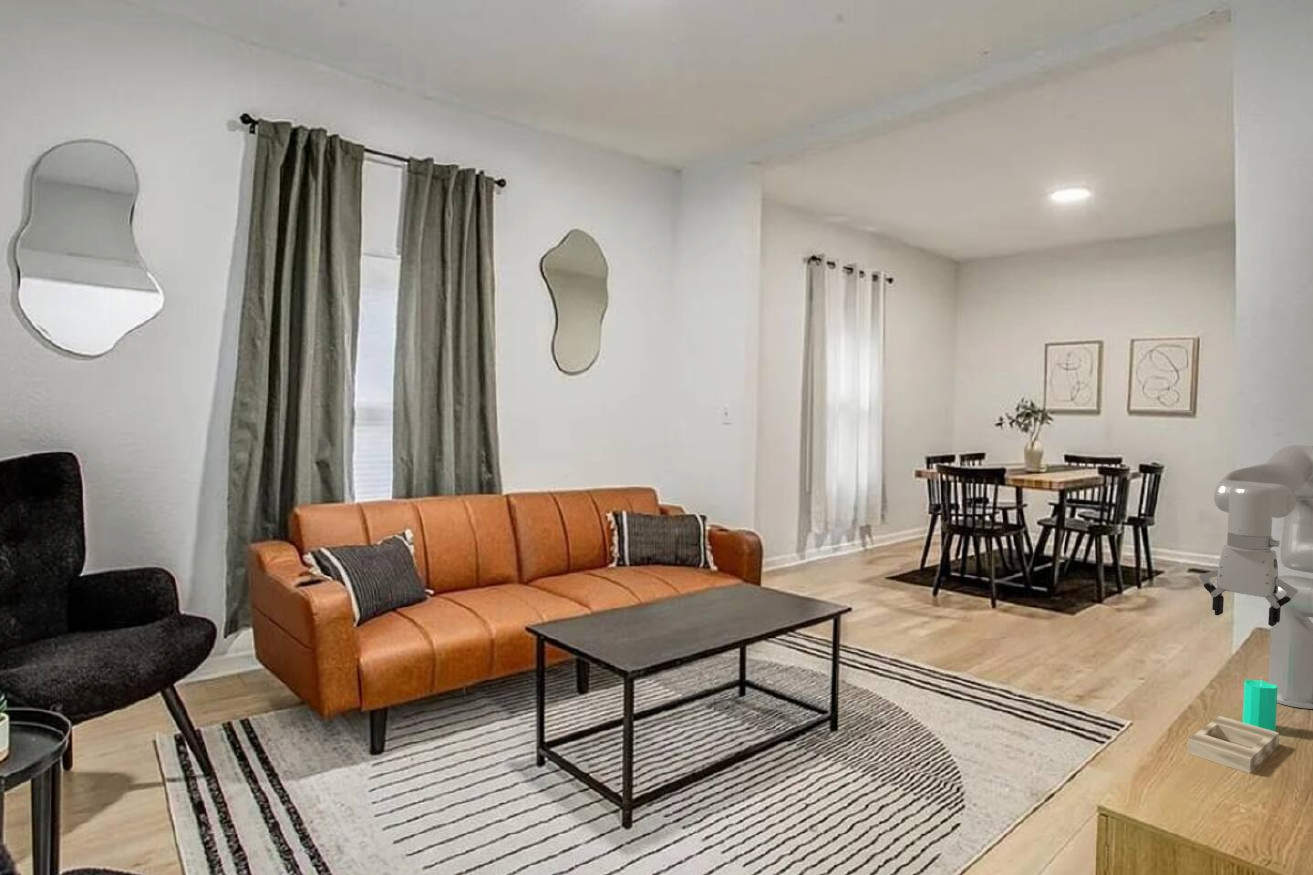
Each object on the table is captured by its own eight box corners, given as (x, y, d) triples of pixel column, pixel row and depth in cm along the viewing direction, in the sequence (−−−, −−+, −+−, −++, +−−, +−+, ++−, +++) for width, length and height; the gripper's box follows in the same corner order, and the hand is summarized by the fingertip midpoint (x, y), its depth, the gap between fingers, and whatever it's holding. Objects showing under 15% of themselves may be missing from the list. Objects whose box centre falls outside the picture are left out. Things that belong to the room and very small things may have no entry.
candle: (1281, 734, 173) (1283, 683, 172) (1251, 732, 174) (1253, 681, 173) (1265, 723, 178) (1268, 673, 178) (1237, 721, 180) (1239, 671, 179)
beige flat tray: (1218, 728, 176) (1219, 715, 175) (1278, 745, 167) (1279, 732, 167) (1187, 752, 164) (1187, 739, 163) (1249, 773, 155) (1250, 759, 155)
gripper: (1304, 546, 160) (1300, 625, 161) (1207, 534, 174) (1204, 607, 175) (1294, 551, 156) (1290, 632, 157) (1196, 538, 170) (1192, 613, 171)
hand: (1245, 619), depth 166 cm, fingers open, 9 cm apart
